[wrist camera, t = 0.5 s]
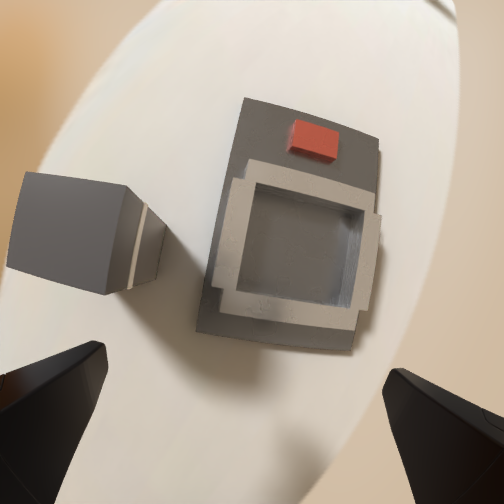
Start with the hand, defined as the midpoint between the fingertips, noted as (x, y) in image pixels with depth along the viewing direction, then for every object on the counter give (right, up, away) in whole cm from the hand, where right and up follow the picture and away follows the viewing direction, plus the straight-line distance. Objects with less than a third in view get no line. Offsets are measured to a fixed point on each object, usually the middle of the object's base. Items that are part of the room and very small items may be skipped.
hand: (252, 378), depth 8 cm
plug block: (-9, +4, +12) cm, 16 cm away
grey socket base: (+3, +6, +14) cm, 16 cm away
